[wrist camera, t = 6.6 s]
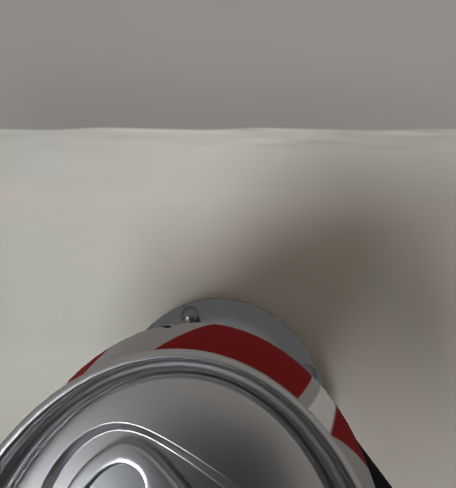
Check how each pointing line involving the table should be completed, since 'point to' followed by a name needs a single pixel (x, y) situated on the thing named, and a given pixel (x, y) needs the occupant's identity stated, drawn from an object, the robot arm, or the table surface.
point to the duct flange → (244, 326)
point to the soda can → (186, 420)
